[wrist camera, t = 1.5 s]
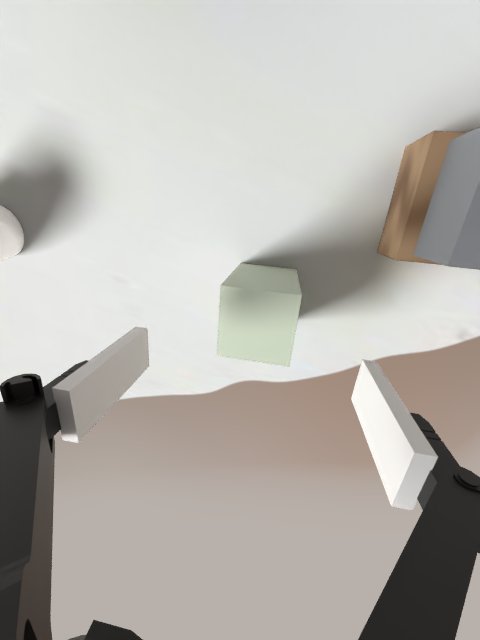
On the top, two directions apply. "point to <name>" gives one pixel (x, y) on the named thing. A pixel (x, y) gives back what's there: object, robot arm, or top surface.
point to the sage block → (259, 314)
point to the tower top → (455, 208)
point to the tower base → (413, 195)
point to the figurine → (10, 234)
